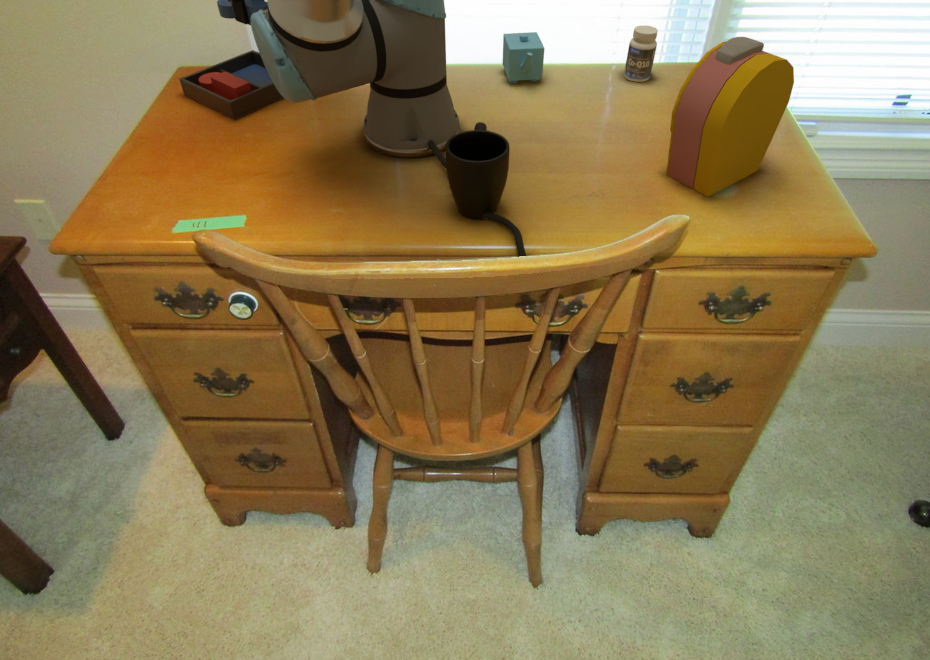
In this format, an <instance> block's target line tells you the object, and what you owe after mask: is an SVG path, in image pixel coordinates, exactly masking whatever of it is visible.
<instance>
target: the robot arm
mask: <svg viewBox="0 0 930 660" xmlns="http://www.w3.org/2000/svg"><path fill="white" fill-rule="evenodd" d="M263 1H265V0H263ZM228 2H231V3H232V6H233V10H234V14H235V18H236V19H235V18H234V19H235V22H239V23H240V24H243V25H248V24H249V23H250V22H249V18H248V14H247V9H246V4H245V0H228ZM266 2H268V9H267V10H264V11H263V9H261V10H259V11H258V12H256V13H253V14H252V16H251V25H250V28H251V32H252V34H253V38H254V42H255V44H256V48H257V50H258V52H259V53H260V55H261V58H262V60H263V63H264V65H265V67H266V69H267V71H268V73H269V76H270V78H271V79H272V81H273V83H274V85H275V87H276V88H277V90H278V92H279V93H280V94H281V96H282V97H283V98H282V99H284V100H286V101H287V102H289V103H292V104H293V103H294V104H295V103H297V104H298V103H301V102H307V101H316V100H317V99H320V98H323V97H328V96H330V95H333V94H338V93H340V92H345V91H347V90H351V89H355V88H357V87H361V86H365V85H368V84H369V94H368V100H367V107H366V115H365V117H364V119H363V135H364V141H365V143H366V144H367V145H368V146H369V147H370V149H372V150H374V151H376V152H378V153H380V154H383V155H386V156H390V157H396V158H406V159H407V158H409V159H410V158H422V157H427V156H432V155H434V156H435V157H436V158H437V159H438V161H439V162H440V164H441V166H442V167H443V168H444V169H445V170H446V156H445V155H444V154H443V153H442V152H443V151H445V145H446V143H447V141H448V140H449V139H450V138H451V137H452V136H454V135H456V134H458V133H461V123H460V119H459V115H458V113H457V110H456V109H455V107H454V103H453V99H452V96H451V93H450V90H449V87H448V81H447V79H448V77H447V47H446V46H447V43H446V18H447V13H446V8H445V7H446V5H445V0H267V1H266ZM482 217H483V218H485V219H484V220H489V221H492V222H496V223H498V224H500V225H502V226H504V227H506V228H507V229H508V230H509V231H510V232H511V234H512V236H513V239H514V242H515V247H516V252H517V256H518V257H519V256H526V257H527V254H526V253H527V252H526V250H525V246H524V240H523V236H522V232H521V230H520V229H519V228H518V227H517V226H516V224H515V223H513V222H512V221H511V220H510V219H508V218H506V216H503V215H500V214H497V213H495V214H494V213H491V212H487V213H485V214H484V215H482Z"/></svg>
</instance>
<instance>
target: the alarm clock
mask: <svg viewBox="0 0 930 660" xmlns="http://www.w3.org/2000/svg"><path fill="white" fill-rule="evenodd" d="M764 46H765V43H764V42H763V41H762V42H761V41H759V40H756V39H754V38H750V37H747V36H736V37H731V38H730V39H728V40H727V41H726V40H725V41H721V42H720V43H718V44H717V45H716V46H713V47H712V48H711V49H709V50H708V51H706V53H704V55H703V56H702V57H701V58H700V59H699V60H698V61H697V63H696V64H694V66H693V68H691V70H690V71H689V73H688V76H687V77H686V79H685V81H684V82H683V84H682V86H681V87H680V89H679V91H678V93H677V97H676V99H675V103H674V105H673V108H672V111H671V119H670V120H671V121H670V130H669V131H670V137H669V138H670V139H669V146H668V148H669V149H668V156H667V164H666V172H665V173H666V176H668V177H670V178H672V179H673V180H675V181H677V182H679V183H681V184H683V185H684V186H686V187H688V188H690V189H692V190H694V191H695V192H698V193H699V194H701V195H703V196H705V197H706V198H709V197H712V196H713V195H716V194H717V193H719V192H721V191H723V190H724V189H726V188H729V187H730V186H732V185H734V184H735V183H737V182H739V181H742V180H743V179H745V178H747V177H748V176H751V175H752V174H754V173H756V172H757V171H759V169H760V167H761V164H762V162H763V160H764V158H765V156H766V153H767V151H768V150H769V147H770V144H771V142H772V140H773V138H774V136H775V133H776V131H777V129H778V127H779V124H780V122H781V120H782V118H783V116H784V114H785V112H786V110H787V107H788V105H789V102H790V101H791V100H790V99H791V96H792V91H793V89H794V85H795V74H794V71H795V69H794V66H793V65H792V64H791V62H790V61H789V60H788V59H787V58H784V57H781V56H778V55H777V54H772V53H770V52H767V51H764V48H765V47H764Z"/></svg>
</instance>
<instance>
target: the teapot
mask: <svg viewBox="0 0 930 660" xmlns="http://www.w3.org/2000/svg"><path fill="white" fill-rule="evenodd" d="M502 40H503V41H502V44H503V45H502V67H503V69H504V73H505V75H506V78H507V80H508V83H510V84H517V83H518V81H529V82H531V83H536V82H538V80H542V79H543V72H544V58H545V57H544V56H545V46H544V44H543V42H542V39H541V38H540V36H539V33H538V32H537V31H531V32H513V33H512V32H511V33H503V39H502Z"/></svg>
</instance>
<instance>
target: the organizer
mask: <svg viewBox="0 0 930 660" xmlns="http://www.w3.org/2000/svg"><path fill="white" fill-rule="evenodd" d="M212 72H220V73H222V72H227V73H229V74H232V75H234V76H236V77H238V78H241V79H243V80H245V81H248V82H249V83H250V86H251V90H252V92H249V93H247V94H245V95H242V96H240V97H238V98H236V99H233V100H231V101H230V100H228V99H226V98H224V97H222V96H220V95H218V94H215V93H213V92H211V91H209V90H207V89H205V88H203V87H201V86H200V83H199V77H200V76H202V75H204V74H207V73H212ZM178 81H179V83H180V86H181V89H182V92H183V95H184V96H185V97H188V98H189V99H191V100H193V101H196V102H197V103H199V104H202V105H204V106H205V107H208V108H210V109H212V110H214V111H217V112H218V113H219V114H222V115H224V116H226V117H227V118H228V117H229V118H230V119H232V120H237V119H239V118H242V117H244V116H246V115H249V114H250V113H253V112H255V111H257V110H260V109H262V108H264V107H266V106H269V105H270V104H272V103H274V102H277V101H279V100H281V99H284V98H283V97H282V96H281V94H280V93H279V92H278V90H277V88H276V87H275V85H274V83H273V81H272V79H271V78H270V76H269V73H268V71H267V69H266V67H265V65H264V63H263V60H262V58H261V55H260V53H259V51H257V50H254V49H252V50H248V51H246V52H244V53H242V54H239V55H236V56H234V57H231V58H229V59H226V60H223V61H221V62H219V63H216V64H213V65H211V66H208V67H206V68H203V69H200V70H198V71H195V72H194V73H190V74H188V75H185V76H183V77H180V78H178Z"/></svg>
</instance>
